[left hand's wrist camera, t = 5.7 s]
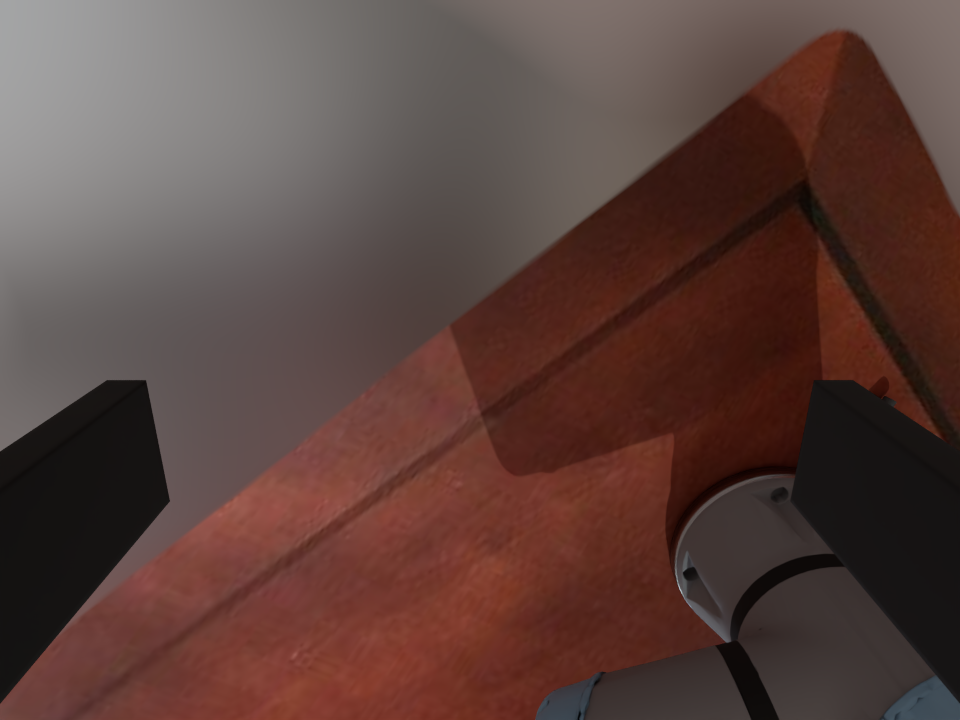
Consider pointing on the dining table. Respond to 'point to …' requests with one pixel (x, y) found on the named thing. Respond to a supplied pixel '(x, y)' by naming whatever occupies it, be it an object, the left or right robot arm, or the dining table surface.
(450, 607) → the dining table surface
